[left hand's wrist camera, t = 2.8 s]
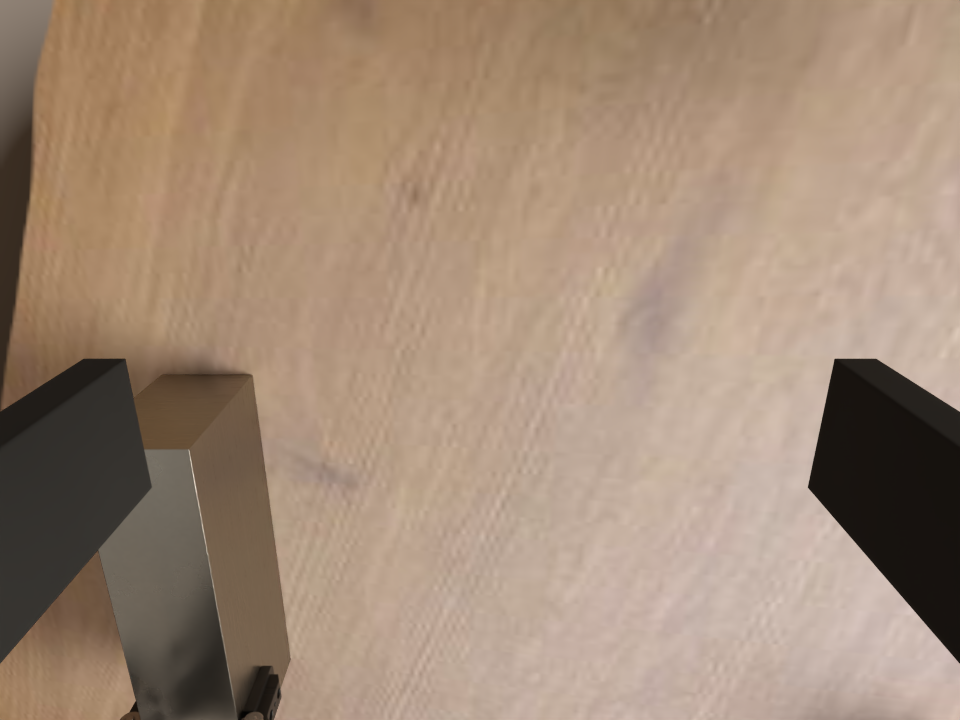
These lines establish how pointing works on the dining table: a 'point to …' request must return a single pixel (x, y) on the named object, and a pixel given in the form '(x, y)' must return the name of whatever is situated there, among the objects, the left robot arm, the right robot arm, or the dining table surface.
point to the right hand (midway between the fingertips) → (221, 675)
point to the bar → (198, 554)
